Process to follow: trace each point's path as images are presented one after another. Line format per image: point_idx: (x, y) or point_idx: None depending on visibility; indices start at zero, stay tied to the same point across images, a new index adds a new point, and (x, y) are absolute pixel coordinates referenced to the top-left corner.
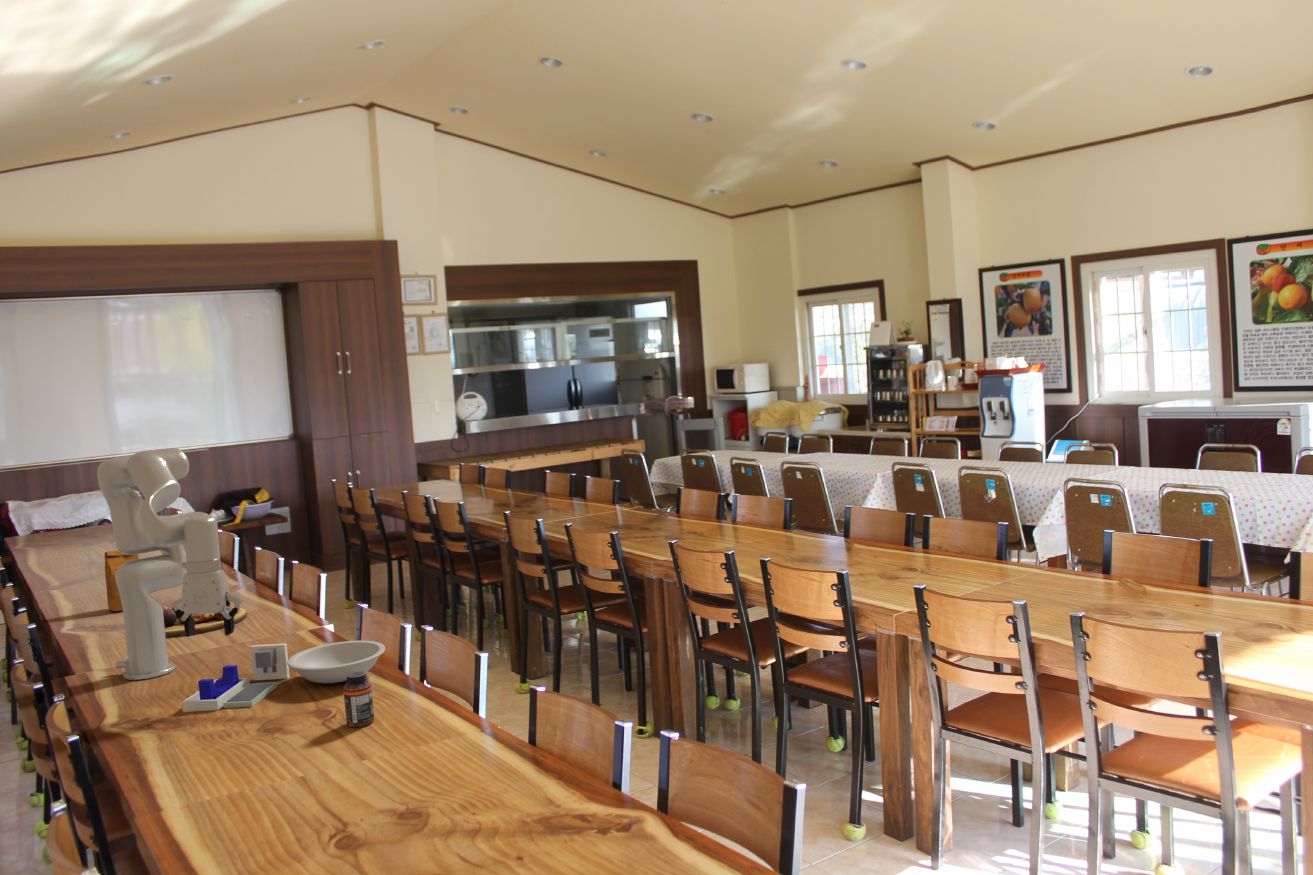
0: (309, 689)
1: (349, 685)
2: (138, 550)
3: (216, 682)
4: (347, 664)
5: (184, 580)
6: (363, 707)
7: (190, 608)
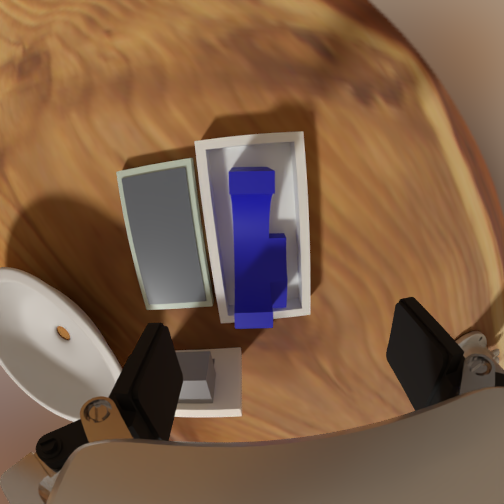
0: (70, 279)
1: None
2: None
3: (282, 275)
4: None
5: None
6: None
7: (482, 441)
